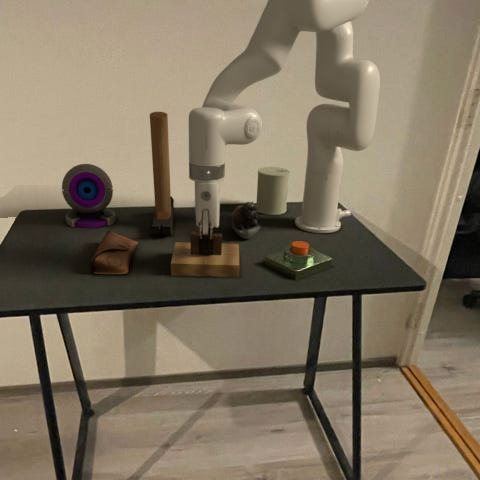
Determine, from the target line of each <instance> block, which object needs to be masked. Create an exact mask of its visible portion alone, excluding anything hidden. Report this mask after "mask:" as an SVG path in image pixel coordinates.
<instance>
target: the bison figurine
mask: <svg viewBox="0 0 480 480" xmlns="http://www.w3.org/2000/svg"><path fill="white" fill-rule="evenodd" d="M257 209H258V207H256V203H254V201H247V202H245V203H243V205H238V206H236V207H235V208H234V209H233V212H232V230H233V231H234V232H235V233H236V235H238V236H239V237H240V238H242V239H243V240H244V239H245V240H247V239H252V238H253V237H254V236H255V235H256V234H257V233H259V231H260V229H261V226H260V225H259V224H258V220H257V219H259V216H258V214H259V212H258V210H257Z"/></svg>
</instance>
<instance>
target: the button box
mask: <svg viewBox="0 0 480 480" xmlns="http://www.w3.org/2000/svg"><path fill="white" fill-rule="evenodd" d="M291 246H292V244H289V245H286V246H285V248H284V249H283V250H281V251H278V252H274V253H271V254H269V255H265V261H264V265H265V266H267V267H269V268H271V269H273V270H275V271H277V272H279V273H281V274H283V275H285V276H287V277H289V278H291V279H293V280H299V279H302V278H304V277H307V276H310V275H312V274H315V273H317V272H320V271H323V270H326V269H328V268H331V267H332V264H333V263H332V262H333V257H330V256H328V255H326V254H325V253H321V252H319V251H317V250H315V248H313V247H311V246H309V251H308V253H307V254H296V253H293V252H291Z"/></svg>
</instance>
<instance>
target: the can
mask: <svg viewBox="0 0 480 480" xmlns="http://www.w3.org/2000/svg"><path fill="white" fill-rule="evenodd" d="M289 180H290V170H288V169H287V168H284V167H280V166H279V167H277V166H264V167H259V168H258V169H257V187H256V189H257V190H256V203H255V205H256V207H258V209H257V210H258V214H259V213H260V214H263V215H267V216H278V215H283V214H286V213H287V211H288V210H287V205H288V203H287V202H288V190H289Z"/></svg>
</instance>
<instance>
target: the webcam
mask: <svg viewBox="0 0 480 480" xmlns="http://www.w3.org/2000/svg"><path fill="white" fill-rule="evenodd" d="M61 190H62V197H63V199H64V201H65V202H66V204H67V205H68V206H69V207H70V208H71V210H69V211H68V212H67V213H66V214H65V223H66V225H68V226H69V227H72V228H73V227H79V228H86V229H87V228H89V229H90V228H98V227H99V228H100V227H103V226H110V225H112V224H114V223H115V222H116V214H115V211H113V209H111V208H108V206H109V205H110V203H111V202H112V199H113V195H114V194H113V193H114V186H113V182H112V180H111V178H110V176H109V175H108V174H107V172H106V171H105V170H104V169H102V168H101V167H100V166H97V165H95V164H92V163H81V164H76V165H75V166H73V167H71V168H70V169H69V170H68V171H67V172H66V173H65V175H64V177H63V178H62V182H61Z"/></svg>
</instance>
